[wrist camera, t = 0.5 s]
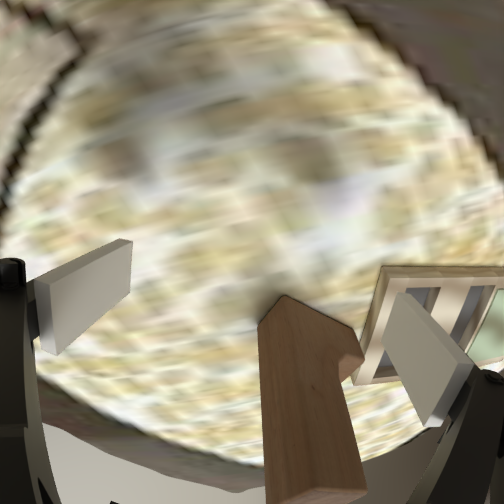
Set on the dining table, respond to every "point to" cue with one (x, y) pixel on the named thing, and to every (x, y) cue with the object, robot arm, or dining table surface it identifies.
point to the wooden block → (307, 407)
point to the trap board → (438, 313)
